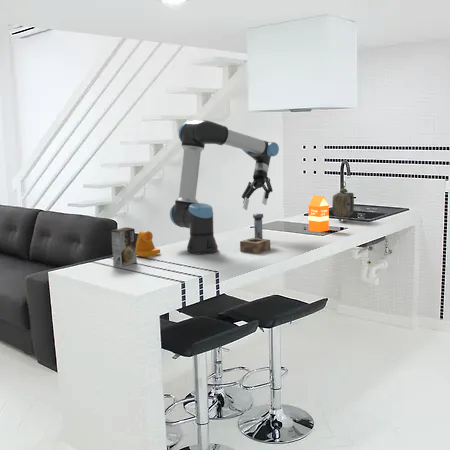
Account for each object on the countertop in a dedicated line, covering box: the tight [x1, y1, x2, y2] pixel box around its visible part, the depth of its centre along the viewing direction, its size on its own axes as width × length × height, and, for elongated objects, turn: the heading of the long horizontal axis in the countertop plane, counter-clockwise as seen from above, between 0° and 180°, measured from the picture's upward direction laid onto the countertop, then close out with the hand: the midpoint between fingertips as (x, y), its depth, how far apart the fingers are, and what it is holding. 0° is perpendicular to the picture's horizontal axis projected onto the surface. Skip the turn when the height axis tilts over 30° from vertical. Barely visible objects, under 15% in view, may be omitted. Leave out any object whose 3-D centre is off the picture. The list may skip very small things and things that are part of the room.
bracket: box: [135, 229, 161, 258], centre depth 283 cm, size 11×7×12 cm, turn 132°
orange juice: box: [307, 194, 330, 233], centre depth 335 cm, size 8×9×20 cm
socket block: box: [239, 237, 271, 255], centre depth 286 cm, size 10×10×5 cm
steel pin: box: [252, 213, 264, 239], centre depth 298 cm, size 5×5×16 cm
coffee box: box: [110, 227, 138, 267], centre depth 266 cm, size 9×6×16 cm
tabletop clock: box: [331, 180, 355, 223], centre depth 364 cm, size 14×9×25 cm, turn 148°
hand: (254, 206), depth 312 cm, fingers open, 13 cm apart
